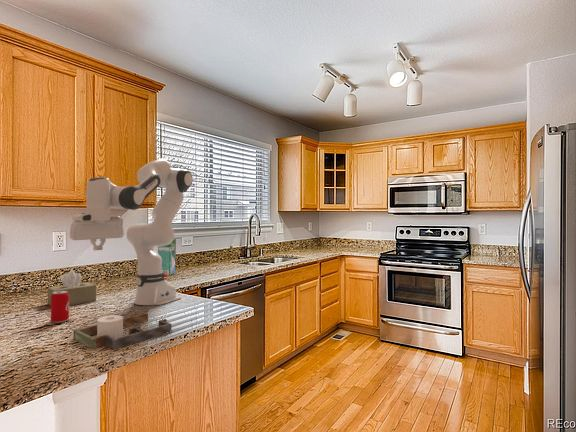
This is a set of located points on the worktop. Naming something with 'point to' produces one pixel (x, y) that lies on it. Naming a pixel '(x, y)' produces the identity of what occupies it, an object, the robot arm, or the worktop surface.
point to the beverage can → (59, 306)
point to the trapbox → (134, 336)
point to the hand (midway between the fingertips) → (98, 250)
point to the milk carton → (168, 257)
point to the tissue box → (75, 289)
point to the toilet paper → (110, 326)
